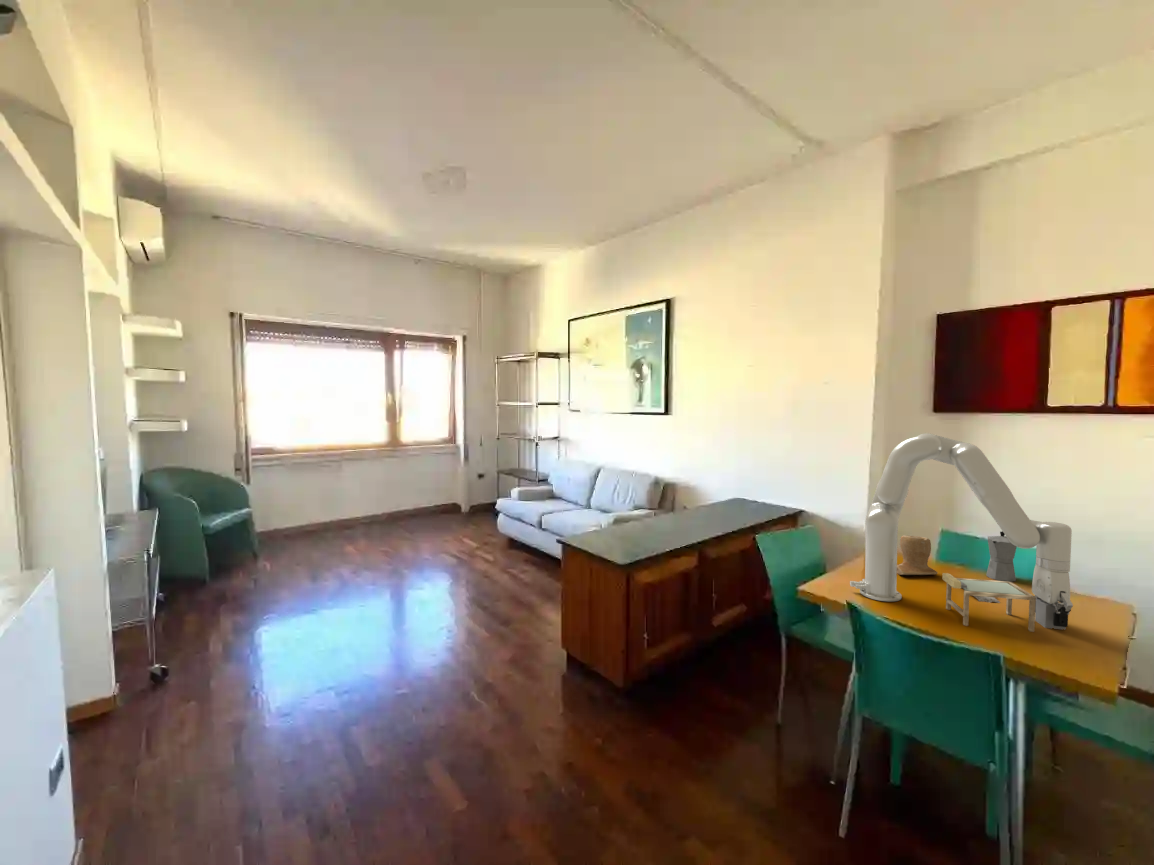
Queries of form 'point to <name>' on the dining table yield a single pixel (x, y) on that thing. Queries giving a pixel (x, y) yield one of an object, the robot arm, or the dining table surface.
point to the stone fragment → (986, 599)
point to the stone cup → (915, 556)
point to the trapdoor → (980, 585)
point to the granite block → (1046, 614)
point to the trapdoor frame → (965, 610)
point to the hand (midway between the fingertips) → (1050, 619)
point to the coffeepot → (1001, 558)
